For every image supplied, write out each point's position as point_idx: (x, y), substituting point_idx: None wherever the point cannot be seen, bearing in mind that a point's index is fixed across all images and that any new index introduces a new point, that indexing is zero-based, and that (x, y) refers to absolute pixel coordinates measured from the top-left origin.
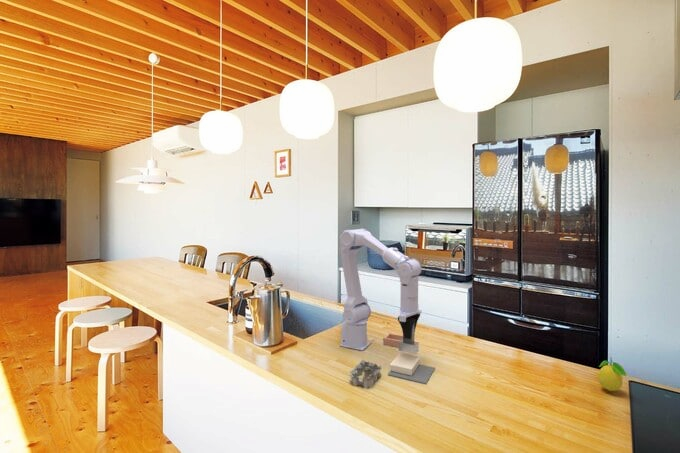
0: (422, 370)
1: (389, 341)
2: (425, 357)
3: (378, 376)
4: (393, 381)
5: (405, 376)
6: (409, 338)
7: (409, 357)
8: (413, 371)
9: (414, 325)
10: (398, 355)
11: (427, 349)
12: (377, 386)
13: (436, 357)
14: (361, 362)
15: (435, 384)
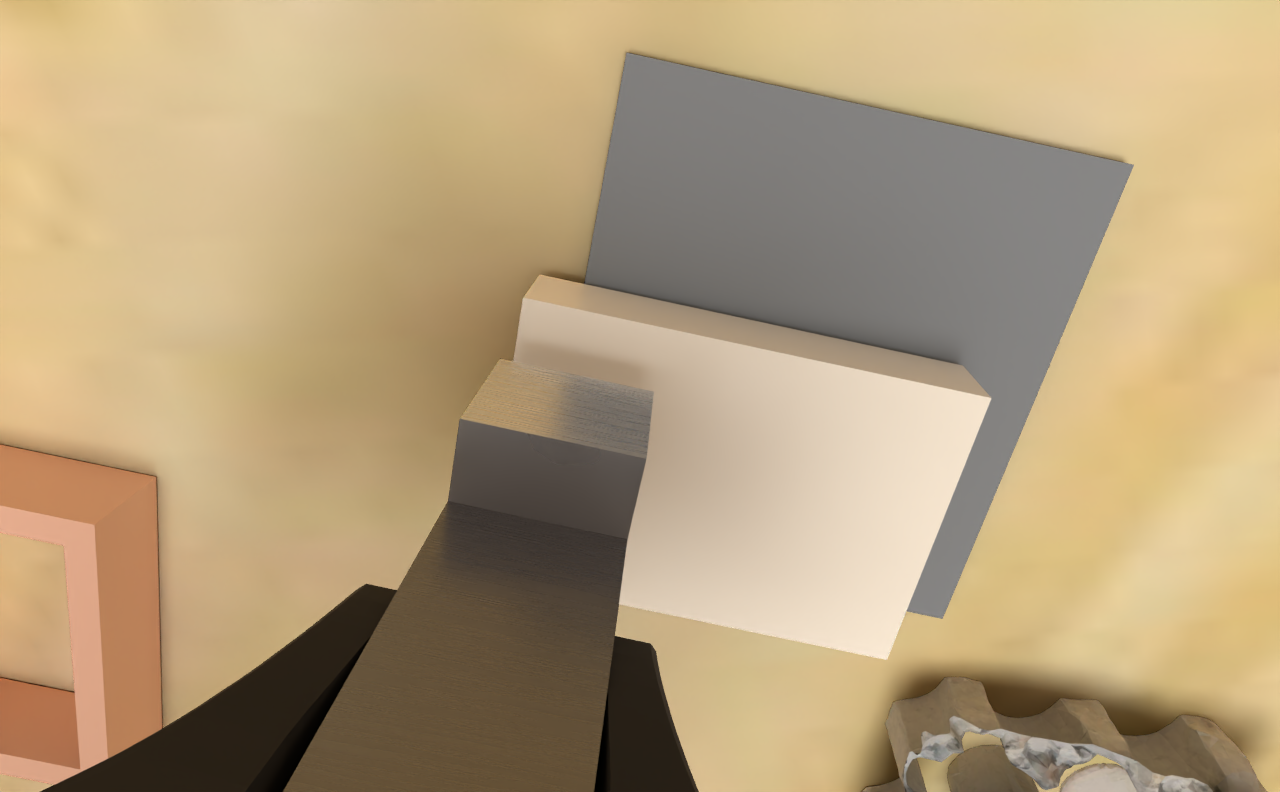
0: (760, 233)
1: (125, 707)
2: (297, 211)
3: (980, 691)
4: (1074, 542)
5: None
6: (657, 664)
7: None
8: (887, 354)
9: (321, 769)
10: None
11: (10, 195)
12: (1199, 675)
13: (226, 41)
14: None
15: (1108, 27)
